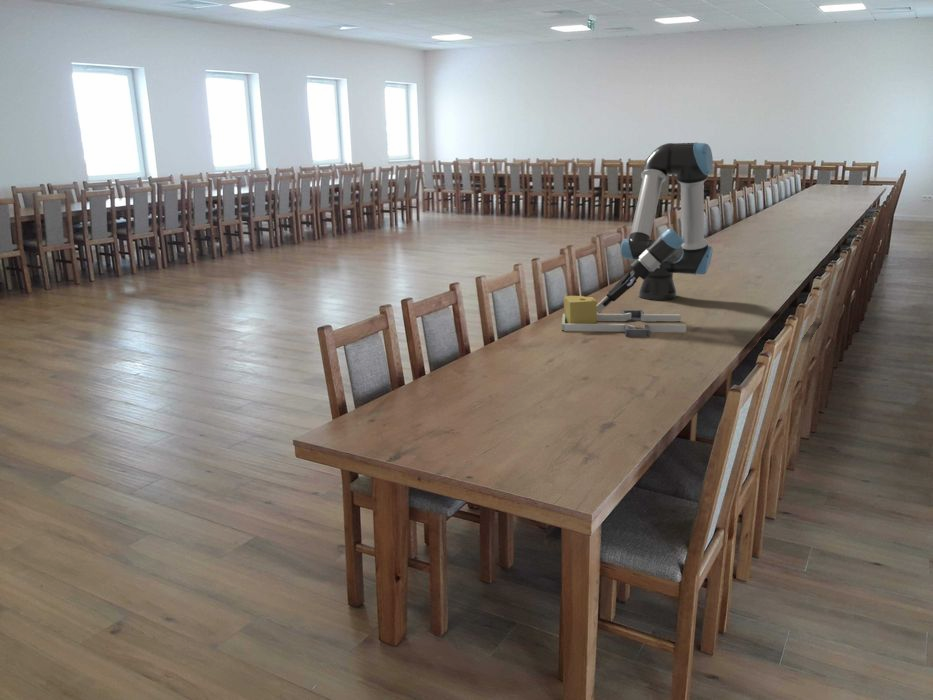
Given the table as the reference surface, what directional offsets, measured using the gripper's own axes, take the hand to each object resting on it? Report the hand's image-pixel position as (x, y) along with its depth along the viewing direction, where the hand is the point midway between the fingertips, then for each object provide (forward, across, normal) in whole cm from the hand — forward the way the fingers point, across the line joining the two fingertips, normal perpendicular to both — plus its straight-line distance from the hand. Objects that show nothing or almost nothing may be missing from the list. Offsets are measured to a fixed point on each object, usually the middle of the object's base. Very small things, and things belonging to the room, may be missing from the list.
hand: (596, 310), depth 275 cm
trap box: (-2, -3, -10) cm, 10 cm away
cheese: (+8, -2, +1) cm, 8 cm away
